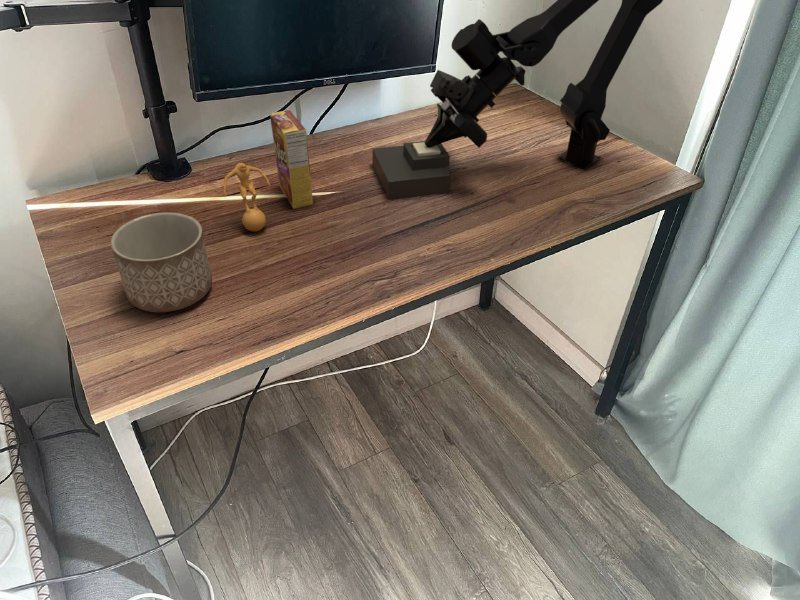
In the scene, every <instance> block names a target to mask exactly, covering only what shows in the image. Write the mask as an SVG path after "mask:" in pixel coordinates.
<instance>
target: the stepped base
mask: <svg viewBox="0 0 800 600" xmlns="http://www.w3.org/2000/svg"><path fill="white" fill-rule="evenodd" d="M425 141H426V140H421V141H413V142H404V143H403V145H396V146H385V147H374V148H372V154H371V155H372V167H373V169H374V172H375V174H376V176H377V178H378V180H379V182H380V185H381V186H382V189H383V191H384V193H385V195H386V197H387V200H397V199H406V198H407V199H408V198H414V197H423V196H432V195H441V194H449V193H450V185H451V174H450V172H449V170H448V169H447V167H450V162H451V161H450V159H451V155H450V154H449V153H448V151H447V150H446V148H445V147H444V145H443V143H441V144H438V145H437V146H438V148H439V150H440V151H441V153H440V154H438V155H428V156H418V157H417V155H416V153H415V151H414V150H413V143H422V142H425Z"/></svg>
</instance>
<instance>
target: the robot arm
mask: <svg viewBox="0 0 800 600" xmlns="http://www.w3.org/2000/svg"><path fill="white" fill-rule="evenodd" d="M599 1H600V0H556V1H555V2H554V3H552V4H551V5H550V6H549V7H548V8H546V10H544V11H542V12H541V13H539V14H537V15H534V16H531V17H528V18H526V19H525V20H523V21H521V22H520V23H518V24H517V25H515V26H514V27H513V28H511V29H510V30H509V31H505V32H500V33H495V34H493V33H492V32H491V31H490V29H489V27H488V26H487V24H486V23H485V22H484V21H483V20H482V19H480V18H479V19H476V21H475V23H471V24H468V25H467V26H465V27H464V28H461V29H460V30H459V31H458V32H457V33H456V34H455V36H453V39H452V41H451V49H452V50H453V51H454V53H455V54H456V55H457V56H459V57H460V59H461V60H462V61H463V63H465V64H466V66H467V67H468V68H469V69H470V70H472V71H477V72H476V73H475V74H474V75H473V76H472V77H471V75H465V76H464V77H463V78H462V79H460V78H458V77H456V76H454V75H452V74H450V73H447V72H444V71H443V70H439V69H437V70H436V72H435V74H434V76H433V79H432V80H431V82H430V84H429V87H430V88H431V89H430V92H431V93H432V94H433V96H434V97H435V98H437V99H439V101H440V102H442V103H441V104H439V102H438V103H436V107H437V116H436V117H437V118H436V119H435V122H434V124H433V126H432V128H431V129H430V131H429V133H428V135H427V137H426V139H425V140H424V141H425V145H426V146H427V147H428V148H430V147H433V146H436V145H438V144H444V143H446V142H450V141H452V140H456V139H460V138H468V139H469V140H470V141H471V142H472V143H473V144H474V145H475V146H476V147H477V148H479V149H480V148H481V147H482V146H483V145H484V144H485V143H486V142H487V140H488V133H487V132H486V130H485V129H484V128H483V127H482V125H480V123H478V122H479V121H480V119H479V118H478V117H479V115H480V114H481V113H482V112H484V110H485V109H486V108H487V107H488V106H489V107H490V108H491V109H493V107H495V106H496V103H495V102H494V100H495V99H496V98H497V97H498V96H499V95H500V94H501V93H502V92H503V91H504V90H505V89H506V88H507V87H508V86H509V85H510V84H511V83H512V82H513V81H516V82H517V83H518V84H519V85H520V86H525V81H526V80H525V76H526V75H525V74H526V72H527V71H526V69H525V68H524V67H530V68H533V67H535V66H537V65H538V64H539V63H541V62H542V61H543V59H544V58H545V57H546V56H547V55H548V54H549V53H550V52H551V51H552V50H553V48H554V46H555V44H556V42H557V40H558V38H559V37H560V35H561V34H562V33H563V32H564V31H565V30H567V29H568V28H569V26H571V25H572V24H573V23H575V21H577V20H578V19H579V18H581V16H582V15H584V14H585V13H587V11H589V10H590V9H591V8H592V7H593V6H594V5H596V4H597V3H598V2H599ZM663 2H664V0H621V4H620V7H619V9H618V11H617V13H616V15H615V16H614V19H613V21H612V23H611V24H610V26H609V29H608V31H607V32H606V35H605V36H604V38H603V41H602V42H601V44H600V47H599V48H598V50H597V52H596V54H595V56H594V58H593V60H592V62H591V64H590V65H589V68H588V70H587V72H586V74H585V76H584V77H583V79H581V80H579V82H577V83H576V84H575V83H572V82H569V84H568V85H567V89H566V90H565V93H564V95H563V97H561V98H560V100H559V102H560V103H561V104H560V107H559V111H560V115H561V117H562V118H563V119H564V120H565V121H564V122H565V125H566V126H567V127H569V128H570V134H569V138H568V144H567V149H566V152H564V153H562V154H561V155H559V157H558V160H560V161H562V162H564V163H568V164H570V165H573V166H575V167H578V168H581V169H583V170H586V169H588V168H590V167H591V166H594V164H596V163H597V162H599V161H601V159H602V157H601V156H599V155H597V154H596V151H597V147H598V144H599V142H601V141H605V140H606V139H607V137H608V135H609V134H610V131H611V129H610V128H609V127H608V126H607V125H606V124H605V122H604V121H603V120H602V117H603V114H604V112H605V109H606V107H607V91H608V88H609V87H610V84H611V82H612V80H613V79H614V76H615V75H616V73H617V72H618V70H619V67H620V65H621V63H622V62H623V59H624V58H625V57H626V54H627V52H628V50H629V48H630V47H631V45H632V44H633V41H634V39H635V37H636V36H637V34H638V31H639V30H640V28H641V26H642V24H643V22H644V21H645V19H646V17H647V16H648V14H650V13H651V12H653V11H654V10H655V9H656V8H657V7H659V6H660V5H661V4H662V3H663ZM500 53H501V54H503V55H504V57H501V56H500ZM513 61H516V62H518V63H519V64H520V66H519V65H518V66H517V65H516V64H515V63H514V62H513ZM522 66H523V67H522Z"/></svg>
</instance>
